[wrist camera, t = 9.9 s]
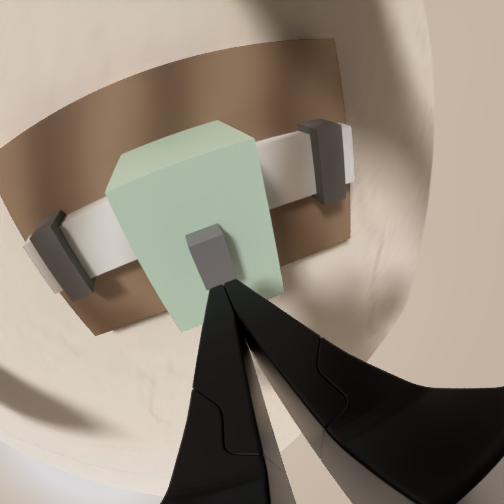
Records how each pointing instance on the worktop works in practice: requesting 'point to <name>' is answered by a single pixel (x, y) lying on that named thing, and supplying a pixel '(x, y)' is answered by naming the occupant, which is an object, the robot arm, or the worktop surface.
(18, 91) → the worktop surface
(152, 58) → the worktop surface
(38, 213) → the rail board
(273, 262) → the block
